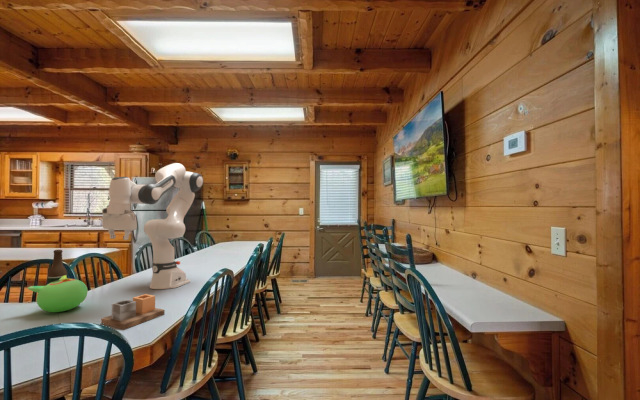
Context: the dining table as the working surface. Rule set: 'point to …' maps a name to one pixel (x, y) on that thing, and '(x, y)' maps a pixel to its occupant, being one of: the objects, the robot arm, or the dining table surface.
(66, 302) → the gravy boat
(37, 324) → the dining table surface
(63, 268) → the beer bottle
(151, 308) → the terracotta sleeve
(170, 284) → the robot arm
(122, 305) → the pin board
